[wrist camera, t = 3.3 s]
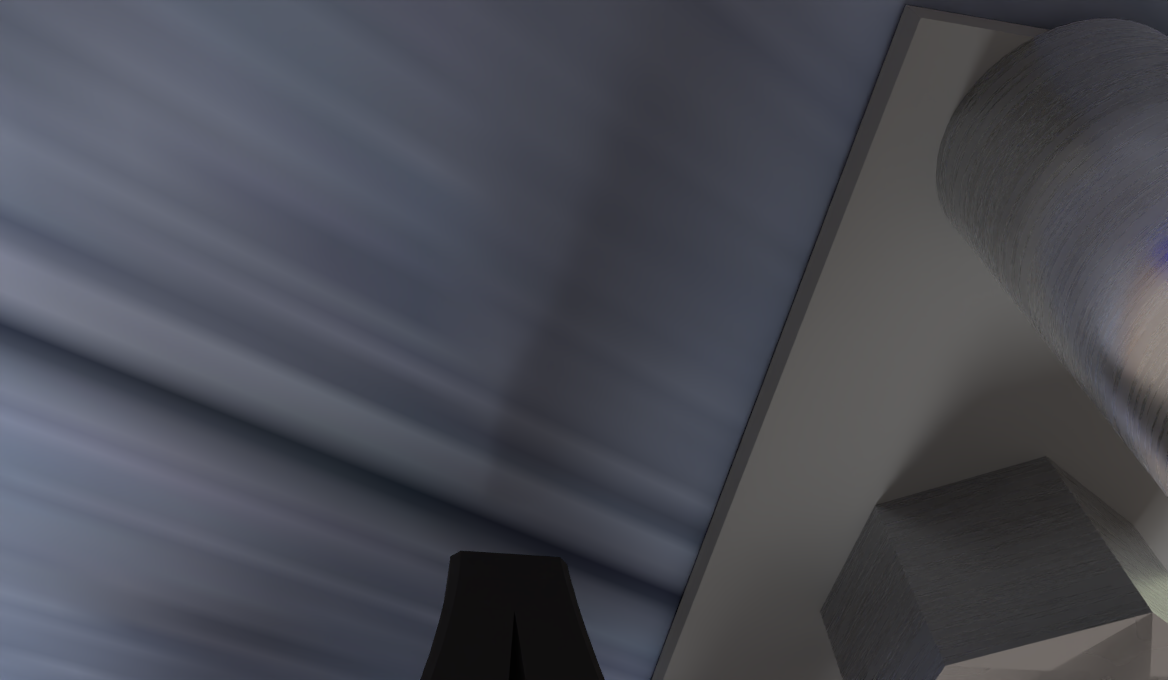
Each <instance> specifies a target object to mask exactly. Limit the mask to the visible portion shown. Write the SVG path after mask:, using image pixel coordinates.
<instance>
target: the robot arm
mask: <svg viewBox="0 0 1168 680" xmlns="http://www.w3.org/2000/svg"><path fill="white" fill-rule="evenodd" d="M420 680H605V679H604V677H603V674H602V672H601V669H600V667H599V664H598V661H597V659H596V656H595V653H594V650H593V648H592V645H591V642H590V639H589V637H588V634H587V631H586V628H585V625H584V622H583V619H582V616H581V613H580V610H579V606H578V603H577V600H576V597H575V593H574V589H573V586H572V582H571V579H570V575H569V571H568V566H567V564H566V563H565V562H564V561H563V560H562V559H561V558H560V557H549V556H534V555H518V554H503V553H488V552H473V551H460V552H458V553H456V554H454V555H452V556H451V557H450V564H449V571H448V578H447V585H446V592H445V599H444V604H443V608H442V612H441V616H440V620H439V624H438V627H437V631H436V634H435V637H434V641H433V644H432V647H431V651H430V654H429V657H428V660H427V663H426V665H425V668H424V671H423V674H422V676H421V679H420Z"/></svg>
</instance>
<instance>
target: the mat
mask: <svg viewBox="0 0 1168 680" xmlns="http://www.w3.org/2000/svg"><path fill="white" fill-rule="evenodd" d="M1046 31H1049V30H1048V29H1042V28H1036V27H1031V26H1025V25H1019V24H1014V23H1008V22H1002V21H996V20H991V19H985V18H979V17H973V16H968V15H962V14H956V13H950V12H945V11H939V10H933V9H928V8H922V7H916V6H910V5H905V8H904V11H903V13H902V16H901V19H900V21H899V24H898V27H897V29H896V32H895V35H894V37H893V40H892V43H891V45H890V48H889V50H888V53H887V56H886V58H885V61H884V64H883V66H882V69H881V72H880V74H879V77H878V80H877V82H876V85H875V88H874V90H873V93H872V96H871V98H870V101H869V104H868V106H867V109H866V112H865V114H864V117H863V119H862V122H861V125H860V127H859V130H858V133H857V135H856V138H855V141H854V143H853V146H852V149H851V151H850V154H849V157H848V159H847V162H846V165H845V167H844V170H843V173H842V175H841V178H840V181H839V183H838V186H837V188H836V191H835V194H834V196H833V199H832V202H831V204H830V207H829V210H828V212H827V215H826V218H825V220H824V223H823V226H822V228H821V231H820V234H819V236H818V239H817V242H816V244H815V247H814V250H813V252H812V255H811V257H810V260H809V263H808V265H807V268H806V271H805V273H804V276H803V279H802V281H801V284H800V287H799V289H798V292H797V295H796V297H795V300H794V303H793V305H792V308H791V311H790V313H789V316H788V319H787V321H786V324H785V326H784V329H783V332H782V334H781V337H780V340H779V342H778V345H777V348H776V350H775V353H774V356H773V358H772V361H771V364H770V366H769V369H768V372H767V374H766V377H765V380H764V382H763V385H762V388H761V390H760V393H759V395H758V398H757V401H756V403H755V406H754V409H753V411H752V414H751V417H750V419H749V422H748V425H747V427H746V430H745V433H744V435H743V438H742V441H741V443H740V446H739V449H738V451H737V454H736V457H735V459H734V462H733V464H732V467H731V470H730V472H729V475H728V478H727V480H726V483H725V486H724V488H723V491H722V494H721V496H720V499H719V502H718V504H717V507H716V510H715V512H714V515H713V518H712V520H711V523H710V526H709V528H708V531H707V533H706V536H705V539H704V541H703V544H702V547H701V549H700V552H699V555H698V557H697V560H696V563H695V565H694V568H693V571H692V573H691V576H690V579H689V581H688V584H687V587H686V589H685V592H684V595H683V597H682V600H681V602H680V605H679V608H678V610H677V613H676V616H675V618H674V621H673V624H672V626H671V629H670V632H669V634H668V637H667V640H666V642H665V645H664V648H663V650H662V653H661V656H660V658H659V661H658V664H657V666H656V669H655V671H654V674H653V677H652V679H651V680H843V679H842V676H841V673H840V670H839V667H838V664H837V661H836V658H835V655H834V652H833V649H832V646H831V643H830V640H829V637H828V634H827V631H826V628H825V625H824V622H823V619H822V616H821V613H820V610H821V608H822V606H823V604H824V602H825V600H826V598H827V597H828V595H829V593H830V591H831V589H832V587H833V585H834V583H835V581H836V579H837V577H838V575H839V573H840V572H841V570H842V568H843V566H844V564H845V562H846V560H847V558H848V556H849V554H850V552H851V550H852V548H853V547H854V545H855V543H856V541H857V539H858V537H859V535H860V533H861V531H862V529H863V527H864V525H865V523H866V521H867V520H868V518H869V516H870V514H871V512H872V510H873V508H874V506H875V505H877V504H881V503H884V502H888V501H891V500H895V499H898V498H901V497H905V496H908V495H912V494H915V493H919V492H922V491H926V490H929V489H933V488H936V487H940V486H943V485H947V484H950V483H954V482H957V481H961V480H964V479H968V478H971V477H975V476H978V475H982V474H985V473H989V472H992V471H995V470H999V469H1002V468H1006V467H1009V466H1013V465H1016V464H1020V463H1023V462H1027V461H1030V460H1034V459H1037V458H1041V457H1044V456H1047V457H1048V458H1050V459H1051V460H1052V461H1053V462H1055V463H1056V464H1057V465H1058V466H1060V467H1061V468H1062V469H1063V470H1065V471H1066V472H1067V473H1068V474H1070V475H1071V476H1072V477H1073V478H1075V479H1076V480H1077V481H1079V482H1080V483H1081V484H1082V485H1084V486H1085V487H1086V488H1087V489H1089V490H1090V491H1091V492H1092V493H1094V494H1095V495H1096V496H1097V497H1099V498H1100V499H1101V500H1102V501H1104V502H1105V503H1106V504H1107V505H1109V506H1110V507H1111V508H1113V509H1114V510H1115V511H1116V512H1118V513H1119V514H1120V515H1121V516H1123V517H1124V518H1125V519H1126V520H1128V521H1129V522H1130V523H1131V524H1133V525H1134V526H1135V528H1136V529H1137V530H1138V532H1139V533H1140V534H1141V536H1142V537H1143V539H1144V540H1145V541H1146V543H1147V544H1148V546H1149V547H1150V548H1151V550H1152V551H1153V552H1154V554H1155V555H1156V557H1157V558H1158V559H1159V561H1160V562H1161V563H1162V565H1163V566H1164V568H1165V569H1166V570H1167V572H1168V497H1167V496H1166V495H1165V493H1164V492H1163V491H1162V490H1161V488H1160V487H1159V486H1158V484H1157V483H1156V482H1155V481H1154V479H1153V478H1152V477H1151V476H1150V474H1149V473H1148V472H1147V471H1146V469H1145V468H1144V467H1143V465H1142V464H1141V463H1140V462H1139V460H1138V459H1137V458H1136V457H1135V455H1134V454H1133V453H1132V452H1131V450H1130V449H1129V448H1128V447H1127V445H1126V444H1125V443H1124V441H1123V440H1122V439H1121V438H1120V436H1119V435H1118V434H1117V433H1116V431H1115V430H1114V429H1113V428H1112V426H1111V425H1110V424H1109V423H1108V421H1107V420H1106V419H1105V417H1104V416H1103V415H1102V414H1101V412H1100V411H1099V410H1098V409H1097V407H1096V406H1095V405H1094V404H1093V402H1092V401H1091V400H1090V399H1089V397H1088V396H1087V395H1086V393H1085V392H1084V391H1083V390H1082V388H1081V387H1080V386H1079V385H1078V383H1077V382H1076V381H1075V380H1074V378H1073V377H1072V376H1071V375H1070V373H1069V372H1068V371H1067V369H1066V368H1065V367H1064V366H1063V364H1062V363H1061V362H1060V361H1059V359H1058V358H1057V357H1056V356H1055V354H1054V353H1053V352H1052V350H1051V349H1050V348H1049V347H1048V345H1047V344H1046V343H1045V342H1044V340H1043V339H1042V338H1041V337H1040V335H1039V334H1038V333H1037V332H1036V330H1035V329H1034V328H1033V326H1032V325H1031V324H1030V323H1029V321H1028V320H1027V319H1026V318H1025V316H1024V315H1023V314H1022V313H1021V311H1020V310H1019V309H1018V308H1017V306H1016V305H1015V304H1014V302H1013V301H1012V300H1011V299H1010V297H1009V296H1008V295H1007V294H1006V292H1005V291H1004V290H1003V289H1002V287H1001V286H1000V285H999V284H998V282H997V281H996V280H995V278H994V277H993V276H992V275H991V273H990V272H989V271H988V270H987V268H986V267H985V266H984V265H983V263H982V262H981V261H980V259H979V258H978V257H977V256H976V254H975V253H974V252H973V251H972V249H971V248H970V247H969V246H968V244H967V243H966V242H965V241H964V239H963V238H962V237H961V235H960V234H959V233H958V232H957V230H956V229H955V228H954V227H953V225H952V224H951V223H950V221H949V220H948V218H947V216H946V215H945V213H944V211H943V209H942V206H941V204H940V201H939V197H938V193H937V188H936V163H937V156H938V152H939V148H940V143H941V141H942V138H943V135H944V132H945V130H946V127H947V125H948V123H949V121H950V119H951V117H952V115H953V113H954V112H955V110H956V108H957V107H958V105H959V104H960V102H961V101H962V99H963V98H964V96H965V95H966V94H967V93H968V91H969V90H970V89H971V88H972V86H973V85H974V84H975V83H976V81H977V80H978V79H979V78H980V77H981V76H982V75H983V74H984V73H985V72H986V71H987V70H988V69H989V68H990V67H992V66H993V65H994V64H995V63H996V62H998V61H999V60H1000V59H1001V58H1002V57H1004V56H1005V55H1006V54H1008V53H1009V52H1011V51H1012V50H1014V49H1015V48H1016V47H1018V46H1019V45H1021V44H1023V43H1024V42H1026V41H1028V40H1030V39H1032V38H1034V37H1035V36H1037V35H1039V34H1042V33H1044V32H1046Z"/></svg>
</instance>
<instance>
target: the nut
mask: <svg viewBox="0 0 1168 680" xmlns="http://www.w3.org/2000/svg"><path fill="white" fill-rule="evenodd" d="M820 613H821V616H822V619H823V622H824V625H825V628H826V631H827V634H828V637H829V640H830V643H831V646H832V649H833V652H834V655H835V658H836V661H837V664H838V667H839V670H840V673H841V676H842V679H843V680H1168V572H1167V570H1166V569H1165V568H1164V566H1163V565H1162V563H1161V562H1160V561H1159V559H1158V558H1157V557H1156V555H1155V554H1154V552H1153V551H1152V550H1151V548H1150V547H1149V546H1148V544H1147V543H1146V541H1145V540H1144V539H1143V537H1142V536H1141V534H1140V533H1139V532H1138V530H1137V529H1136V528H1135V526H1134V525H1133V524H1131V523H1130V522H1129V521H1128V520H1126V519H1125V518H1124V517H1123V516H1121V515H1120V514H1119V513H1118V512H1116V511H1115V510H1114V509H1113V508H1111V507H1110V506H1109V505H1107V504H1106V503H1105V502H1104V501H1102V500H1101V499H1100V498H1099V497H1097V496H1096V495H1095V494H1094V493H1092V492H1091V491H1090V490H1089V489H1087V488H1086V487H1085V486H1084V485H1082V484H1081V483H1080V482H1079V481H1077V480H1076V479H1075V478H1073V477H1072V476H1071V475H1070V474H1068V473H1067V472H1066V471H1065V470H1063V469H1062V468H1061V467H1060V466H1058V465H1057V464H1056V463H1055V462H1053V461H1052V460H1051V459H1050V458H1048V457H1047V456H1044V457H1041V458H1037V459H1034V460H1030V461H1027V462H1023V463H1020V464H1016V465H1013V466H1009V467H1006V468H1002V469H999V470H995V471H992V472H989V473H985V474H982V475H978V476H975V477H971V478H968V479H964V480H961V481H957V482H954V483H950V484H947V485H943V486H940V487H936V488H933V489H929V490H926V491H922V492H919V493H915V494H912V495H908V496H905V497H901V498H898V499H895V500H891V501H888V502H884V503H881V504H877V505H875V506H874V508H873V510H872V512H871V514H870V516H869V518H868V520H867V521H866V523H865V525H864V527H863V529H862V531H861V533H860V535H859V537H858V539H857V541H856V543H855V545H854V547H853V548H852V550H851V552H850V554H849V556H848V558H847V560H846V562H845V564H844V566H843V568H842V570H841V572H840V573H839V575H838V577H837V579H836V581H835V583H834V585H833V587H832V589H831V591H830V593H829V595H828V597H827V598H826V600H825V602H824V604H823V606H822V608H821V610H820Z"/></svg>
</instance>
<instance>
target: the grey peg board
mask: <svg viewBox="0 0 1168 680" xmlns="http://www.w3.org/2000/svg"><path fill="white" fill-rule="evenodd" d="M936 188H937V193H938V197H939V201H940V204H941V206H942V209H943V211H944V213H945V215H946V216H947V218H948V220H949V221H950V223H951V224H952V225H953V227H954V228H955V229H956V230H957V232H958V233H959V234H960V235H961V237H962V238H963V239H964V241H965V242H966V243H967V244H968V246H969V247H970V248H971V249H972V251H973V252H974V253H975V254H976V256H977V257H978V258H979V259H980V261H981V262H982V263H983V265H984V266H985V267H986V268H987V270H988V271H989V272H990V273H991V275H992V276H993V277H994V278H995V280H996V281H997V282H998V284H999V285H1000V286H1001V287H1002V289H1003V290H1004V291H1005V292H1006V294H1007V295H1008V296H1009V297H1010V299H1011V300H1012V301H1013V302H1014V304H1015V305H1016V306H1017V308H1018V309H1019V310H1020V311H1021V313H1022V314H1023V315H1024V316H1025V318H1026V319H1027V320H1028V321H1029V323H1030V324H1031V325H1032V326H1033V328H1034V329H1035V330H1036V332H1037V333H1038V334H1039V335H1040V337H1041V338H1042V339H1043V340H1044V342H1045V343H1046V344H1047V345H1048V347H1049V348H1050V349H1051V350H1052V352H1053V353H1054V354H1055V356H1056V357H1057V358H1058V359H1059V361H1060V362H1061V363H1062V364H1063V366H1064V367H1065V368H1066V369H1067V371H1068V372H1069V373H1070V375H1071V376H1072V377H1073V378H1074V380H1075V381H1076V382H1077V383H1078V385H1079V386H1080V387H1081V388H1082V390H1083V391H1084V392H1085V393H1086V395H1087V396H1088V397H1089V399H1090V400H1091V401H1092V402H1093V404H1094V405H1095V406H1096V407H1097V409H1098V410H1099V411H1100V412H1101V414H1102V415H1103V416H1104V417H1105V419H1106V420H1107V421H1108V423H1109V424H1110V425H1111V426H1112V428H1113V429H1114V430H1115V431H1116V433H1117V434H1118V435H1119V436H1120V438H1121V439H1122V440H1123V441H1124V443H1125V444H1126V445H1127V447H1128V448H1129V449H1130V450H1131V452H1132V453H1133V454H1134V455H1135V457H1136V458H1137V459H1138V460H1139V462H1140V463H1141V464H1142V465H1143V467H1144V468H1145V469H1146V471H1147V472H1148V473H1149V474H1150V476H1151V477H1152V478H1153V479H1154V481H1155V482H1156V483H1157V484H1158V486H1159V487H1160V488H1161V490H1162V491H1163V492H1164V493H1165V495H1166V496H1167V497H1168V36H1166V35H1164V34H1163V33H1161V32H1159V31H1157V30H1156V29H1153V28H1151V27H1149V26H1147V25H1145V24H1142V23H1139V22H1135V21H1131V20H1127V19H1117V18H1095V19H1088V20H1082V21H1076V22H1072V23H1069V24H1066V25H1062V26H1059V27H1056V28H1053V29H1051V30H1049V31H1046V32H1044V33H1042V34H1039V35H1037V36H1035V37H1034V38H1032V39H1030V40H1028V41H1026V42H1024V43H1023V44H1021V45H1019V46H1018V47H1016V48H1015V49H1014V50H1012V51H1011V52H1009V53H1008V54H1006V55H1005V56H1004V57H1002V58H1001V59H1000V60H999V61H998V62H996V63H995V64H994V65H993V66H992V67H990V68H989V69H988V70H987V71H986V72H985V73H984V74H983V75H982V76H981V77H980V78H979V79H978V80H977V81H976V83H975V84H974V85H973V86H972V88H971V89H970V90H969V91H968V93H967V94H966V95H965V96H964V98H963V99H962V101H961V102H960V104H959V105H958V107H957V108H956V110H955V112H954V113H953V115H952V117H951V119H950V121H949V123H948V125H947V127H946V130H945V132H944V135H943V138H942V141H941V143H940V148H939V152H938V156H937V163H936Z"/></svg>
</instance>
